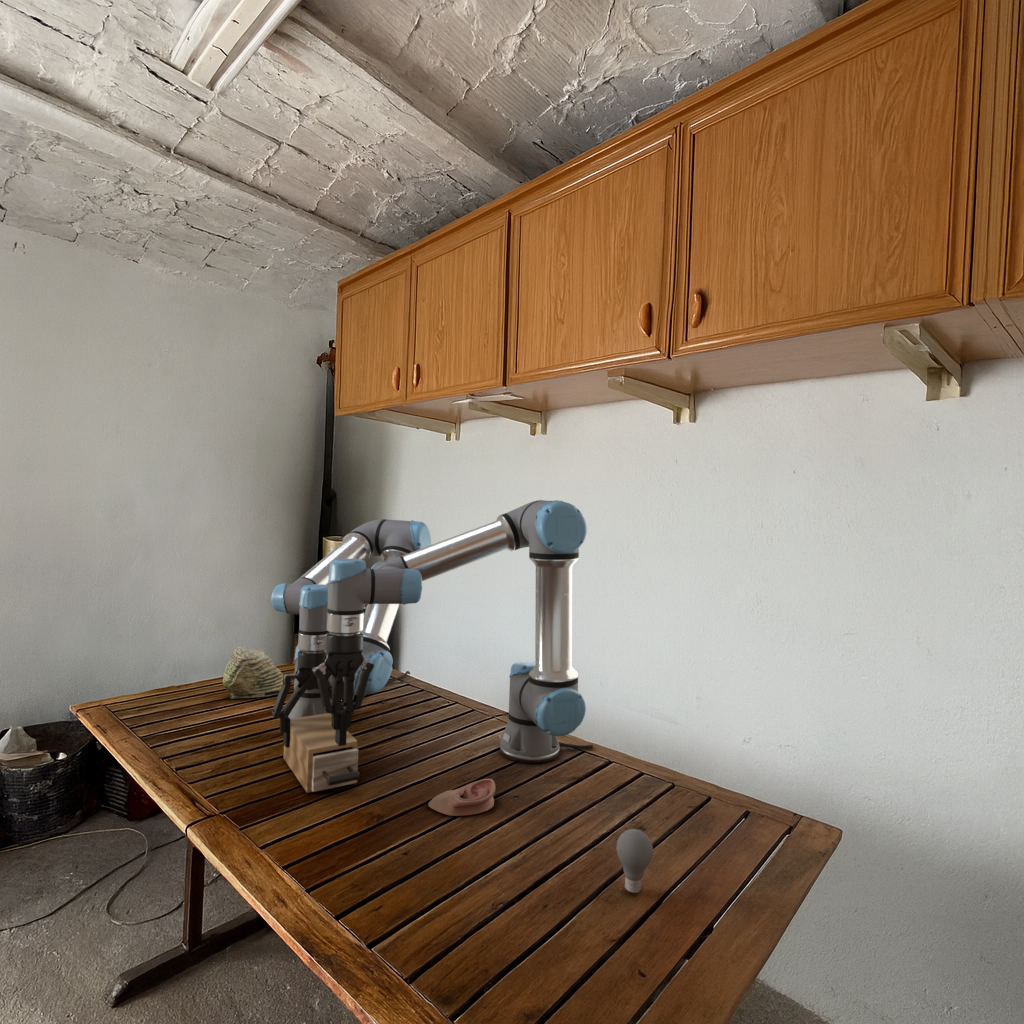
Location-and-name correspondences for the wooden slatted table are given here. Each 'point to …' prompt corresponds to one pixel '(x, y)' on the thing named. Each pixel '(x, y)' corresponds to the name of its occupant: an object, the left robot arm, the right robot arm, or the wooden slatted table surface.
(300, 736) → the cabinet
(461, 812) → the anatomical model
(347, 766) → the drawer
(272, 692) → the fossil
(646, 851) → the light bulb
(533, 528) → the right robot arm
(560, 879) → the wooden slatted table surface
